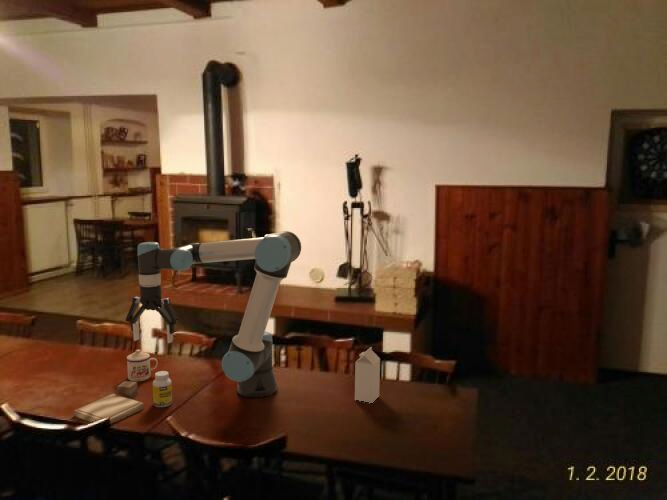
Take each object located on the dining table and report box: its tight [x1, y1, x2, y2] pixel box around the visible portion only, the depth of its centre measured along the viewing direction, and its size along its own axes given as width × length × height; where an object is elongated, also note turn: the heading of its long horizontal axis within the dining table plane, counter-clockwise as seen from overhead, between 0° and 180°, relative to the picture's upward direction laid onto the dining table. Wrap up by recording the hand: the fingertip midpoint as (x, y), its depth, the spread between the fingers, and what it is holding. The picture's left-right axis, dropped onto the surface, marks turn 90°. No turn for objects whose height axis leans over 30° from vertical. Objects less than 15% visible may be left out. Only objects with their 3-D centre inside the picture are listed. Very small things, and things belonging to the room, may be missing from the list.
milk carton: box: [354, 346, 381, 404], centre depth 199 cm, size 7×7×19 cm
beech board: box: [73, 393, 145, 424], centre depth 188 cm, size 16×16×2 cm
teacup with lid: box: [125, 349, 159, 383], centre depth 218 cm, size 12×9×12 cm
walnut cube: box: [117, 380, 139, 400], centre depth 200 cm, size 5×5×5 cm
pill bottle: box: [152, 370, 173, 408], centre depth 194 cm, size 6×6×12 cm
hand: (153, 341), depth 199 cm, fingers open, 13 cm apart
